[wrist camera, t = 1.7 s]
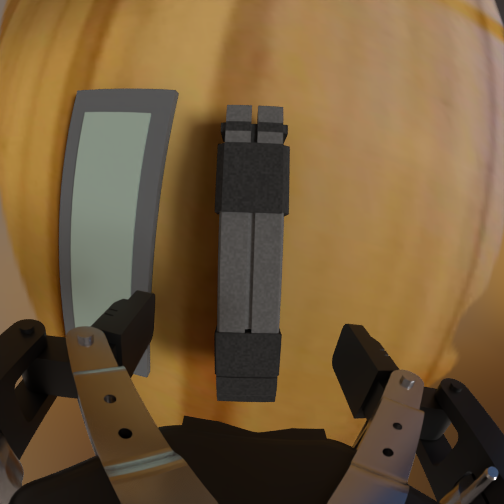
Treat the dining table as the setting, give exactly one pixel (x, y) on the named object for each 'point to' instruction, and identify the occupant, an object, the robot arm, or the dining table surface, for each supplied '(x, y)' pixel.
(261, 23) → the dining table surface
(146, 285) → the charging mat
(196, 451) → the robot arm
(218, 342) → the gun
